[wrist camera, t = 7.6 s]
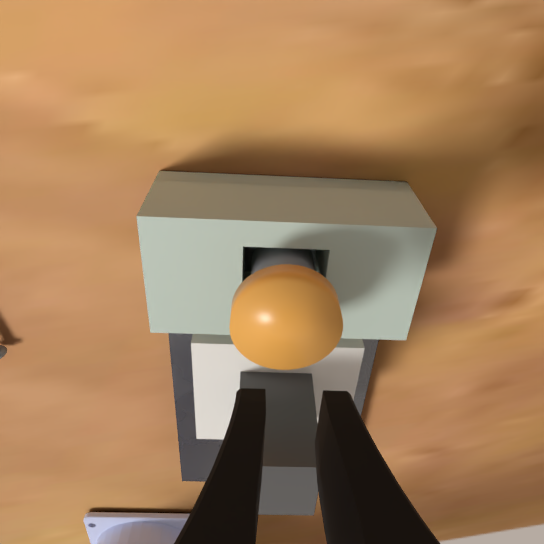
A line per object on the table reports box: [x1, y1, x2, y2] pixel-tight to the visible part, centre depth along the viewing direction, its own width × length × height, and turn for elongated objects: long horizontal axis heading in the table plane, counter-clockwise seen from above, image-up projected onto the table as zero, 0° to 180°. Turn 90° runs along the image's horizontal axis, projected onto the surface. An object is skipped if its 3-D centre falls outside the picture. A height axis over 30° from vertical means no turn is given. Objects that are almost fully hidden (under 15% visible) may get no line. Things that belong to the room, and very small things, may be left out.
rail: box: [169, 181, 407, 481], centre depth 23 cm, size 20×10×2 cm, turn 177°
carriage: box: [191, 334, 365, 515], centre depth 19 cm, size 6×7×6 cm
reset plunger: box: [229, 247, 343, 370], centre depth 17 cm, size 4×4×4 cm
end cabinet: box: [137, 171, 437, 340], centre depth 19 cm, size 5×10×4 cm, turn 87°
